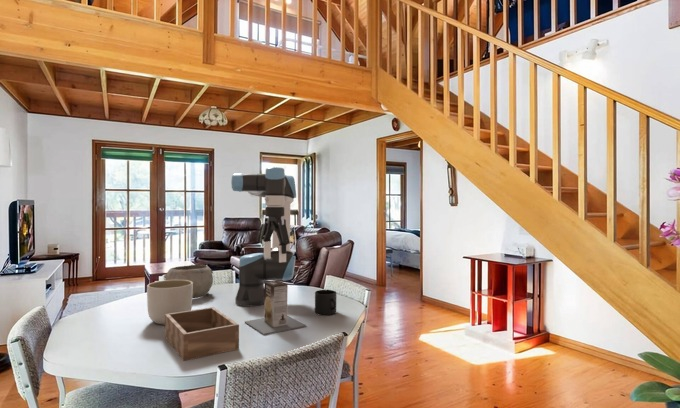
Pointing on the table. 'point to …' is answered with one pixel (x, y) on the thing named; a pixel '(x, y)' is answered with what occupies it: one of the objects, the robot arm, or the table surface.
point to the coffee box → (275, 303)
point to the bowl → (193, 277)
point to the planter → (168, 298)
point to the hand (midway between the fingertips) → (274, 259)
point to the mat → (267, 329)
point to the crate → (201, 332)
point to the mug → (325, 302)
